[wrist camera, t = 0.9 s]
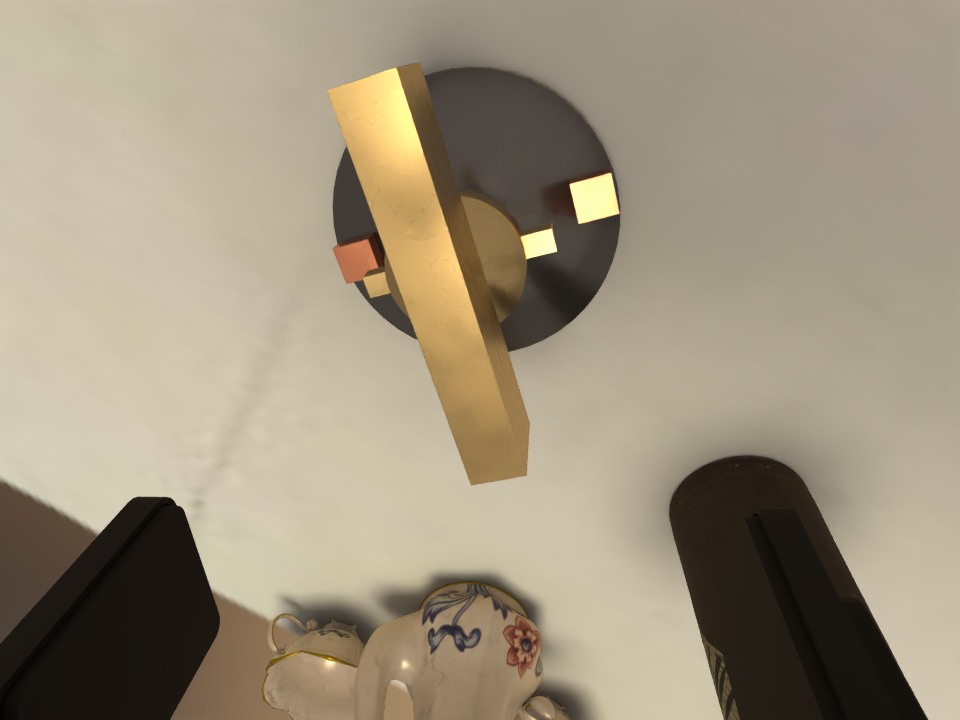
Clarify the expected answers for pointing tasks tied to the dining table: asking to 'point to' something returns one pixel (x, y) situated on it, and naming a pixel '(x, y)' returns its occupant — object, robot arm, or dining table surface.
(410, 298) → the gold bar handle
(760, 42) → the dining table surface
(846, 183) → the dining table surface
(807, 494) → the container
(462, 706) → the chinaware
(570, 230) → the post base
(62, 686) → the robot arm
